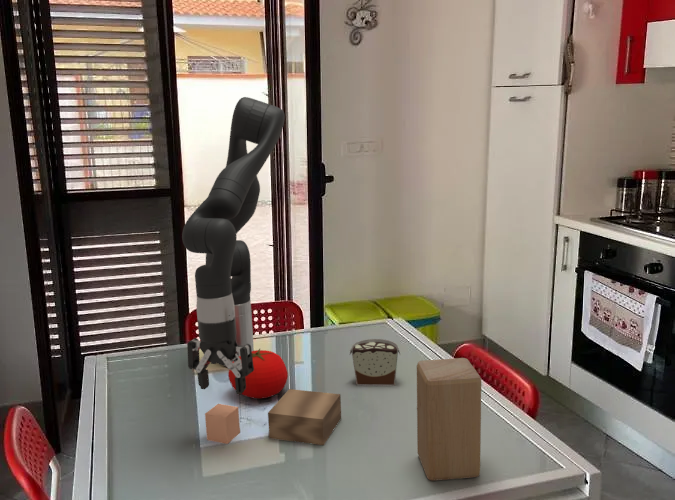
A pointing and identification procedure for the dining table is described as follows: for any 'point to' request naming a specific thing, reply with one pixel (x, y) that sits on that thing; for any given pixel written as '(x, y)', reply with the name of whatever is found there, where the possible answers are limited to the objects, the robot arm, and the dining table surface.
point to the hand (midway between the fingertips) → (222, 390)
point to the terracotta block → (222, 423)
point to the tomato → (263, 375)
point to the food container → (375, 362)
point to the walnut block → (304, 416)
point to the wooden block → (448, 418)
